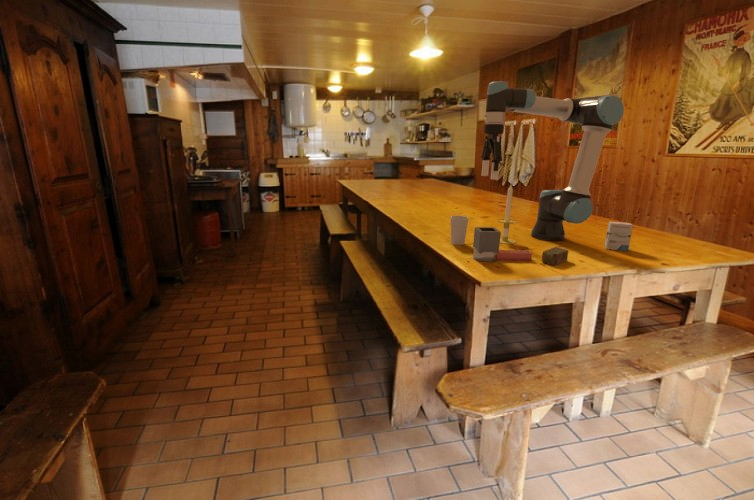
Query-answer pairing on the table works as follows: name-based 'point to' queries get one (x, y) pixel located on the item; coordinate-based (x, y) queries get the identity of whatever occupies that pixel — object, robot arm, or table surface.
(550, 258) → the stone block
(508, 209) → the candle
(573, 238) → the table surface
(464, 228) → the cup
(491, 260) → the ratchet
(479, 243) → the socket
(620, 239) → the ink box
